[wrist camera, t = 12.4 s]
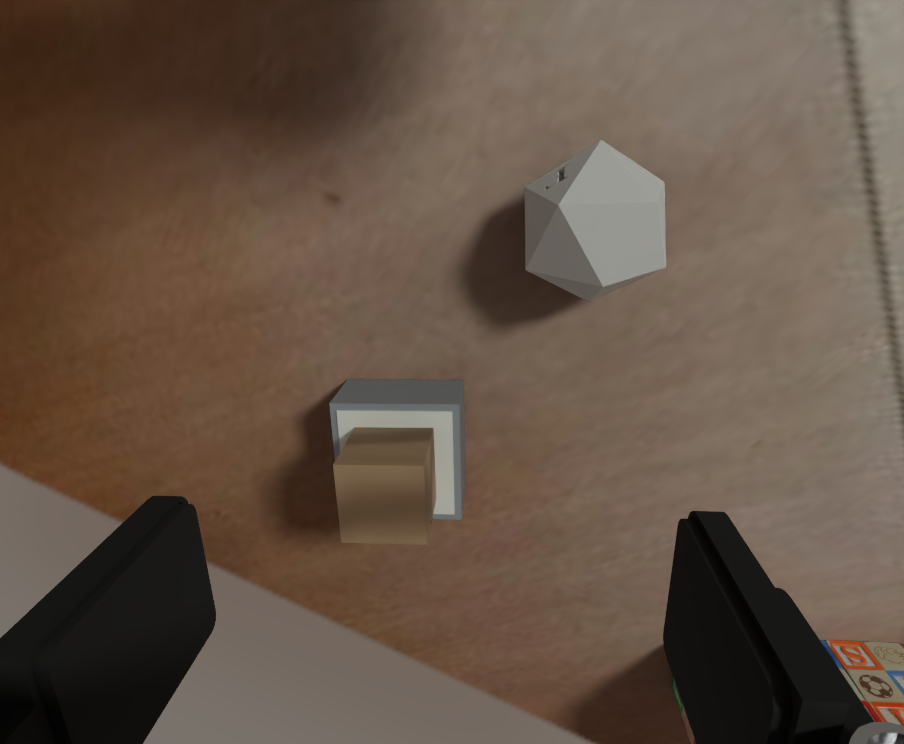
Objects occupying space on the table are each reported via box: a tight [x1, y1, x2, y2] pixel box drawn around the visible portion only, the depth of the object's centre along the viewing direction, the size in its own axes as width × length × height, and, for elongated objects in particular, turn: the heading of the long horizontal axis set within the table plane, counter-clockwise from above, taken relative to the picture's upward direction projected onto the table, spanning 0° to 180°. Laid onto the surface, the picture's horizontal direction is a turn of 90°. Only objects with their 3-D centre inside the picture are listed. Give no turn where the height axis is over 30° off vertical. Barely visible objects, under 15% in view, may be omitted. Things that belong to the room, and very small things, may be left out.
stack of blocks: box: [672, 640, 904, 744], centre depth 44 cm, size 21×6×12 cm, turn 92°
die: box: [525, 140, 666, 302], centre depth 35 cm, size 8×9×10 cm
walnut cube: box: [333, 427, 436, 544], centre depth 38 cm, size 6×6×6 cm
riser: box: [329, 379, 465, 520], centre depth 43 cm, size 9×9×5 cm
